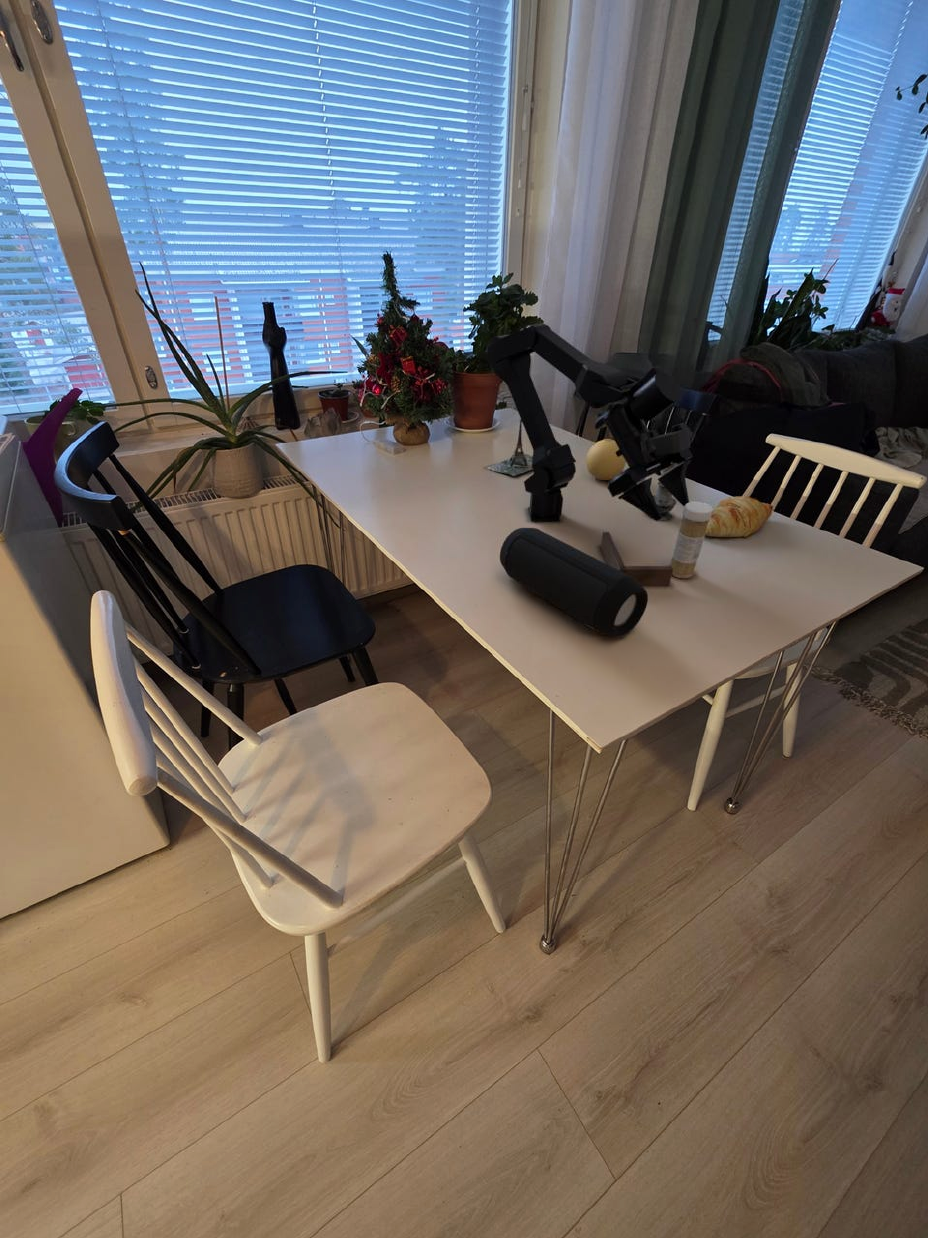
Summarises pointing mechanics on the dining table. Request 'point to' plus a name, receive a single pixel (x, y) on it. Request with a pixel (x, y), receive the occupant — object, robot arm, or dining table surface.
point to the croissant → (738, 517)
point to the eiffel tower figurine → (515, 460)
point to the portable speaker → (574, 581)
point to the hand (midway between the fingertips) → (673, 512)
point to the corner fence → (640, 573)
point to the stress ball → (604, 460)
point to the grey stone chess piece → (664, 502)
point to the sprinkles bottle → (690, 538)
